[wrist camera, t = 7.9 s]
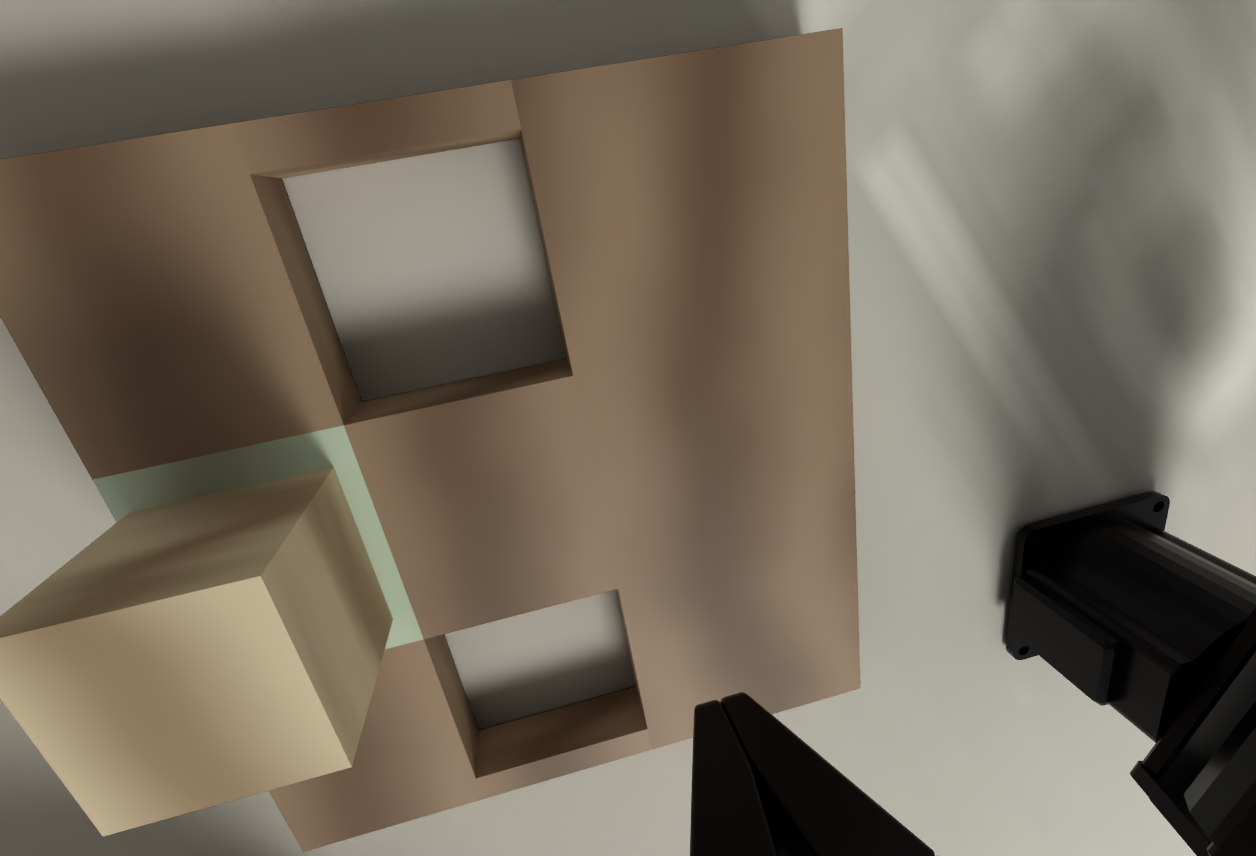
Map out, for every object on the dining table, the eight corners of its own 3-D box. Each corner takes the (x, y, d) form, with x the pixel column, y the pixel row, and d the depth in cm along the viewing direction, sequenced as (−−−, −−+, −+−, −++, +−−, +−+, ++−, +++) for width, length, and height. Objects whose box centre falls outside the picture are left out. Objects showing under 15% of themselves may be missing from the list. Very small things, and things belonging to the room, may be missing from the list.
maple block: (333, 467, 16) (260, 576, 11) (393, 618, 17) (351, 767, 13) (130, 512, 15) (-39, 647, 10) (213, 664, 17) (102, 836, 12)
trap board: (803, 49, 16) (842, 27, 14) (833, 651, 24) (860, 688, 22) (-3, 177, 14) (-83, 172, 12) (320, 797, 22) (303, 851, 20)
